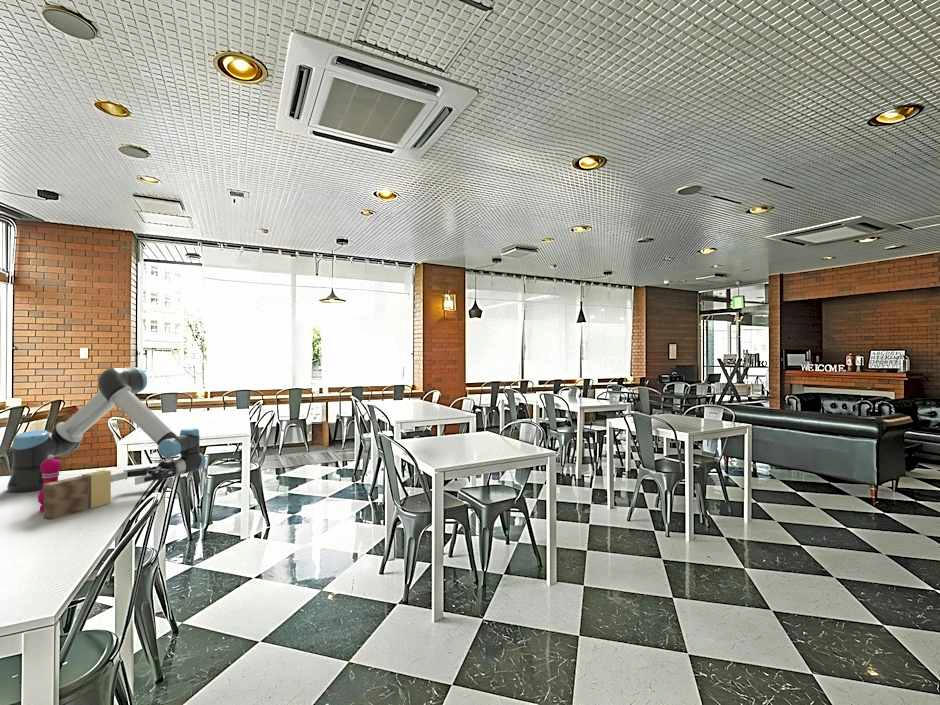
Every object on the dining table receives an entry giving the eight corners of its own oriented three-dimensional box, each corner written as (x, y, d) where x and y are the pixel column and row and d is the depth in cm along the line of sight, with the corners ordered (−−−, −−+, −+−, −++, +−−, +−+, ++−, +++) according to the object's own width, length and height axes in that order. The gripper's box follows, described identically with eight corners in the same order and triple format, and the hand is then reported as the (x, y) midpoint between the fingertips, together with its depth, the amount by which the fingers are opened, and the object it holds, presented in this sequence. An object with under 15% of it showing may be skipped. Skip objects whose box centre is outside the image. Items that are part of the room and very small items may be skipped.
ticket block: (80, 508, 189) (80, 476, 189) (87, 509, 188) (87, 476, 188) (43, 518, 178) (43, 483, 178) (51, 520, 177) (51, 485, 176)
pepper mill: (49, 513, 184) (48, 457, 184) (32, 512, 185) (32, 456, 185) (68, 507, 191) (68, 453, 191) (52, 506, 192) (52, 452, 192)
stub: (103, 501, 197) (103, 470, 197) (110, 502, 196) (110, 470, 196) (81, 507, 190) (81, 474, 190) (89, 508, 188) (88, 475, 188)
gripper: (192, 479, 218) (146, 492, 198) (149, 474, 226) (100, 486, 207) (192, 461, 218) (146, 472, 198) (149, 457, 226) (100, 468, 207)
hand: (122, 480), depth 202 cm, fingers open, 13 cm apart
